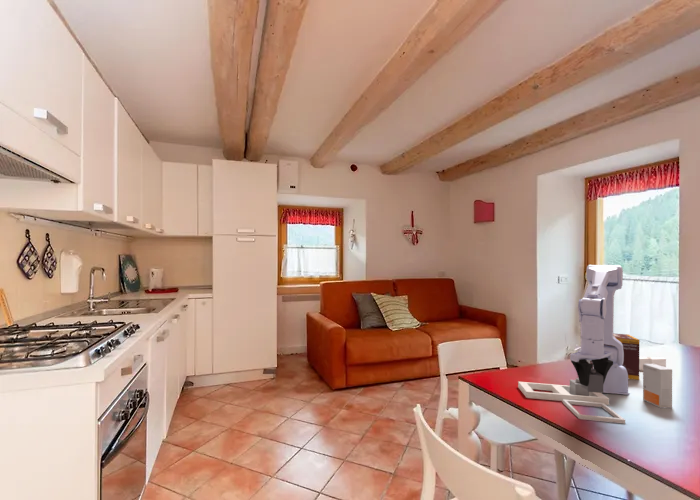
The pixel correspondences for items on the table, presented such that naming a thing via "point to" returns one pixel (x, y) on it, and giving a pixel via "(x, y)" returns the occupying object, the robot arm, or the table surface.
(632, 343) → the supplement box
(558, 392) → the twin square frames
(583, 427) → the table surface
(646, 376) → the skincare box
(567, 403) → the white square frame
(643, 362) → the napkin holder
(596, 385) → the plug
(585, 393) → the twin plug
